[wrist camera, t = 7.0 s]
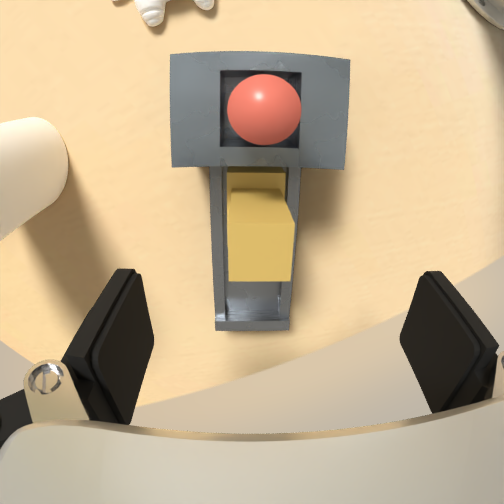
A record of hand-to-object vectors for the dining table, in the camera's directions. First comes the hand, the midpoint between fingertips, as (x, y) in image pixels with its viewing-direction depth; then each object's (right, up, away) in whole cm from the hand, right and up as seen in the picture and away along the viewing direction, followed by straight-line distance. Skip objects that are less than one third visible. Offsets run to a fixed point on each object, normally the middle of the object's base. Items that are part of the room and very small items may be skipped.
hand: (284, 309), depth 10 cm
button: (-1, +10, +6) cm, 12 cm away
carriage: (-1, +5, +12) cm, 13 cm away
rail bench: (-1, +6, +14) cm, 15 cm away
